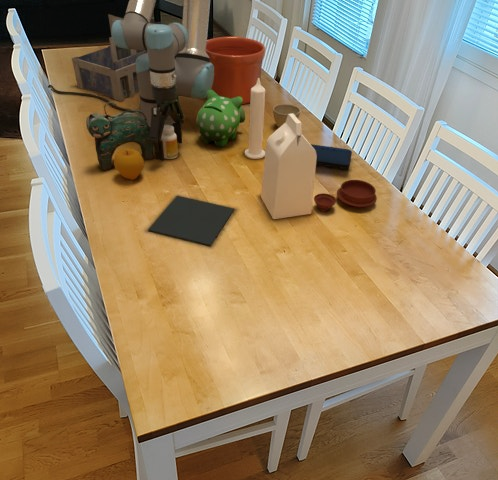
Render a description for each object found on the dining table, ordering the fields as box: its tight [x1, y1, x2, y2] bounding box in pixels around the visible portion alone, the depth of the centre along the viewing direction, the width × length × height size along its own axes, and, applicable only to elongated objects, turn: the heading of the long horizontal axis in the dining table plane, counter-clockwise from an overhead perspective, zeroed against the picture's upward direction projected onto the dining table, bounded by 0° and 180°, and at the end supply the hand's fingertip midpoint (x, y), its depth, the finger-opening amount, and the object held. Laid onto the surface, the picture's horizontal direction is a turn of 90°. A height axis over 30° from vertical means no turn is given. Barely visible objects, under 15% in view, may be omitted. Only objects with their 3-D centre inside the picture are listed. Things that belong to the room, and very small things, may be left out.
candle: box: [244, 78, 266, 160], centre depth 147 cm, size 7×7×25 cm
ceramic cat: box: [85, 101, 155, 171], centre depth 142 cm, size 20×6×20 cm, turn 122°
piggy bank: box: [195, 90, 246, 148], centre depth 158 cm, size 14×18×15 cm
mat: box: [147, 195, 235, 247], centre depth 126 cm, size 18×18×1 cm
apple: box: [113, 148, 145, 181], centre depth 139 cm, size 9×9×9 cm
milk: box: [260, 113, 317, 220], centre depth 125 cm, size 12×12×26 cm
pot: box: [206, 36, 266, 105], centre depth 186 cm, size 25×25×19 cm
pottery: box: [313, 179, 378, 212], centre depth 134 cm, size 12×20×4 cm, turn 113°
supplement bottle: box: [161, 125, 179, 160], centre depth 149 cm, size 5×5×10 cm
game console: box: [310, 143, 353, 171], centre depth 149 cm, size 16×13×9 cm
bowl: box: [272, 103, 301, 129], centre depth 169 cm, size 10×10×7 cm
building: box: [71, 13, 148, 102], centre depth 187 cm, size 23×24×23 cm
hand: (169, 150), depth 151 cm, fingers open, 13 cm apart
